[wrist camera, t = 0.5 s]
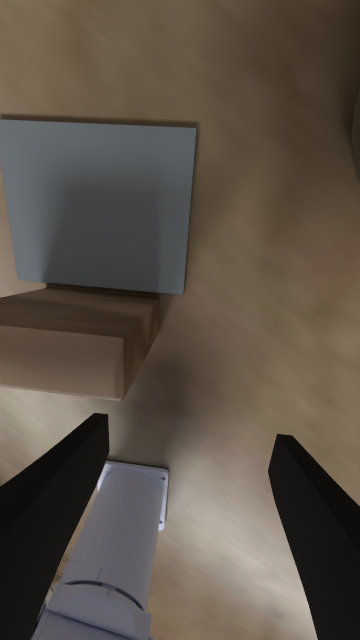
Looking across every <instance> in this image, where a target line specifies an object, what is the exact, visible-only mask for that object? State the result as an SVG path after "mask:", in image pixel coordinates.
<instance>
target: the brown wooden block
mask: <svg viewBox="0 0 360 640" xmlns="http://www.w3.org/2000/svg"><path fill="white" fill-rule="evenodd" d="M158 317H159V299H158V298H147V297H136V296H125V295H115V294H104V293H93V292H82V291H71V290H60V289H50V288H44V289H40V290H35V291H30V292H26V293H21V294H16V295H12V296H7V297H2V298H0V386H1V387H9V388H17V389H25V390H33V391H41V392H50V393H58V394H66V395H74V396H82V397H90V398H99V399H107V400H115V401H121V400H122V399H124V397H125V395H126V393H127V392H128V390H129V388H130V386H131V384H132V382H133V380H134V378H135V376H136V374H137V373H138V371H139V369H140V367H141V365H142V363H143V361H144V359H145V357H146V355H147V353H148V352H149V350H150V348H151V346H152V344H153V342H154V340H155V338H156V336H157V334H158Z"/></svg>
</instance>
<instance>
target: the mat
mask: <svg viewBox="0 0 360 640" xmlns="http://www.w3.org/2000/svg"><path fill="white" fill-rule="evenodd" d="M196 134H197V128H184V127H161V126H138V125H115V124H92V123H69V122H46V121H23V120H0V163H1V169H2V176H3V183H4V189H5V196H6V203H7V209H8V216H9V223H10V230H11V236H12V243H13V250H14V256H15V263H16V270H17V276H18V280H24V281H35V282H46V283H57V284H68V285H79V286H90V287H102V288H113V289H124V290H135V291H146V292H157V293H168V294H179V295H183V294H184V281H185V269H186V257H187V244H188V232H189V220H190V207H191V195H192V183H193V171H194V158H195V146H196Z"/></svg>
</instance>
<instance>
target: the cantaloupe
mask: <svg viewBox="0 0 360 640" xmlns="http://www.w3.org/2000/svg"><path fill="white" fill-rule="evenodd" d="M352 156H353V163H354V168H355V172H356V175H357V178H358V181H359V183H360V88H359V92H358V96H357V100H356V105H355V111H354V117H353V124H352Z"/></svg>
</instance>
